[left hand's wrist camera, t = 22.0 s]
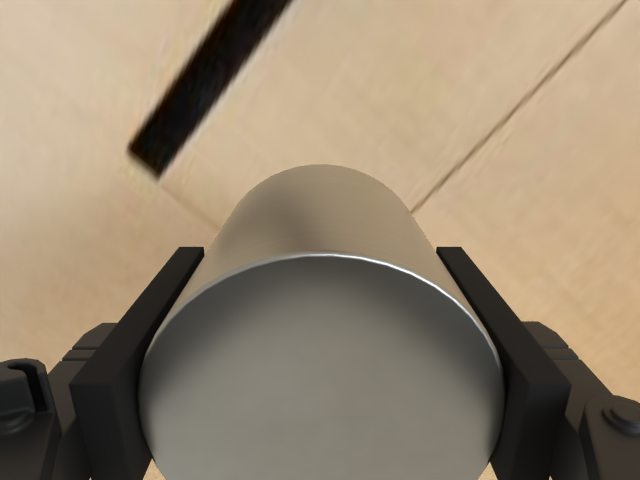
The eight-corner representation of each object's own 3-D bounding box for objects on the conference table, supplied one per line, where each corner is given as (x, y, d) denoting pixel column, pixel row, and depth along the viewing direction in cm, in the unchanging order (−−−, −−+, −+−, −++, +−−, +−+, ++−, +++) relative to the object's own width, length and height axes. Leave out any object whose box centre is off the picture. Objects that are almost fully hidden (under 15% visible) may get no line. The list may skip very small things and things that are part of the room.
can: (216, 158, 15) (115, 241, 7) (435, 169, 15) (547, 262, 8) (222, 346, 17) (151, 543, 10) (409, 354, 17) (472, 555, 10)
